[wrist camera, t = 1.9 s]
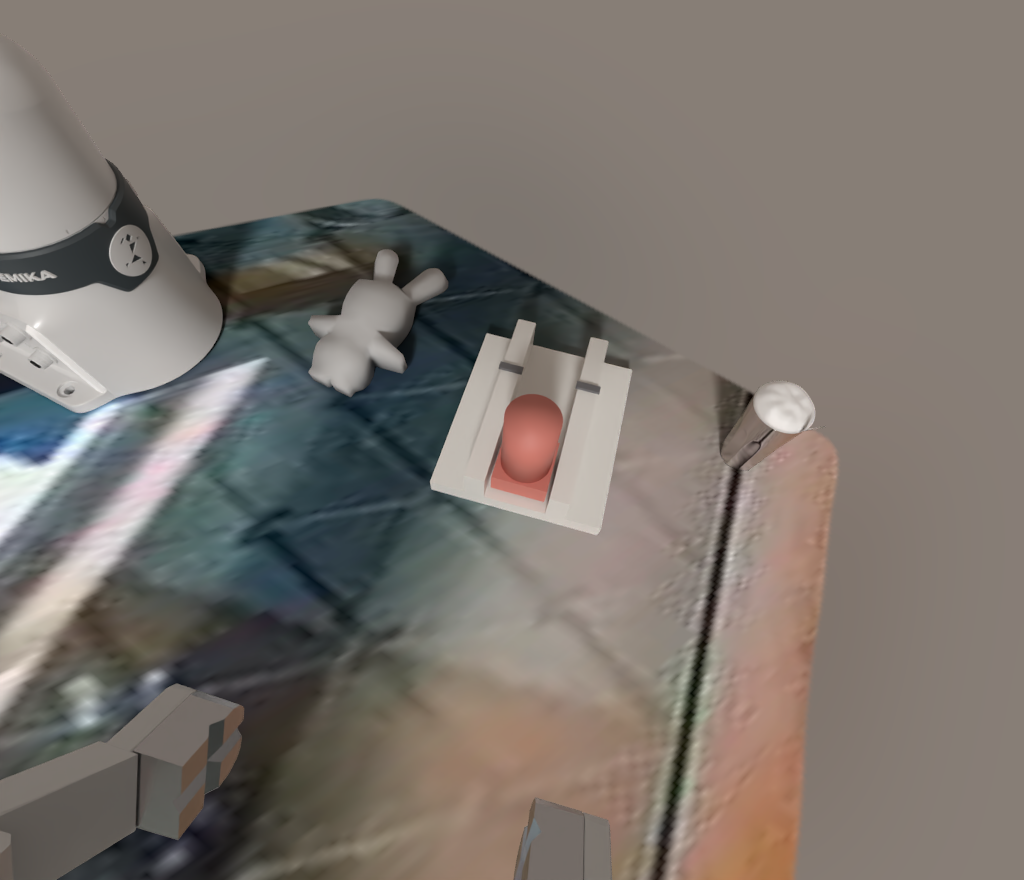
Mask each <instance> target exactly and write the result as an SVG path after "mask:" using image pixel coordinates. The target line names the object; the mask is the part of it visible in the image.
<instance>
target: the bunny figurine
mask: <svg viewBox="0 0 1024 880" xmlns="http://www.w3.org/2000/svg"><path fill="white" fill-rule="evenodd" d="M398 262H399V259H398V255H397V254H396V253H395V252H394V251H392V250H387V249H384V250H382V251H379V252H378V255H377V258H376V261H375V263H374V275H373V280H364V279H359V280H358V281H357V282H356V283H355V284H354V285H353V286H352V288H351V289H350V291H349V292H348V294H347V296H346V298H345V300H344V302H343V307H342V312H341V315H312V316H311V318H310V320H309V322H308V324H309V325H310V327H311V329H312V330H313V332H314V334H315V335H316V336H318V337H319V338H321V339H320V340H319V341H318V343H317V344H316V347H315V351H314V354H313V362H312V367H311V369H310V370H309V374H310V375H311V377H312V378H313V379H314V381H316V382H319V383H321V384H323V385H325V386H327V387H331V386H333V387H334V388H335V390H336V391H338V392H340V393H343V394H345V395H347V396H349V397H352V395H353V394H354V393H355V392H357V391H360V390H363V389H365V388H366V387H367V386H368V385H369V384H370V382H371V380H372V378H373V376H374V369H375V367H379V368H383V369H387V370H391V371H395V372H398V373H403V372H404V371H405V370H406V369H407V368H408V367H407V364H406V361H405V359H404V356H403V354H402V353H401V352H399V351H398V350H397V349H396V348H397V347H398V346H399V345H400V344H401V343H402V342H403V340H404V339H405V338H406V336H407V335H408V333H409V331H410V329H411V327H412V325H413V320H414V315H415V310H416V306H417V305H419V304H421V303H423V302H425V301H427V300H429V299H431V298H433V297H435V296H437V295H439V294H441V293H443V292H444V291H445V290H446V289H447V288H448V281H447V279H446V278H445V276H444V274H443V273H442V272H441V271H440V270H439V269H436V268H430V269H427V270H425V271H423V272H422V273H421V274H420V275H418V276H417V277H416V278H415V279H413V280H412V281H411V282H410V283H408V284H407V285H406V286H405V287H403V288H402V289H401V288H399V287H397V286H396V285H394V284H393V283H392V281H393V278H394V275H395V272H396V268H397V265H398Z"/></svg>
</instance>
